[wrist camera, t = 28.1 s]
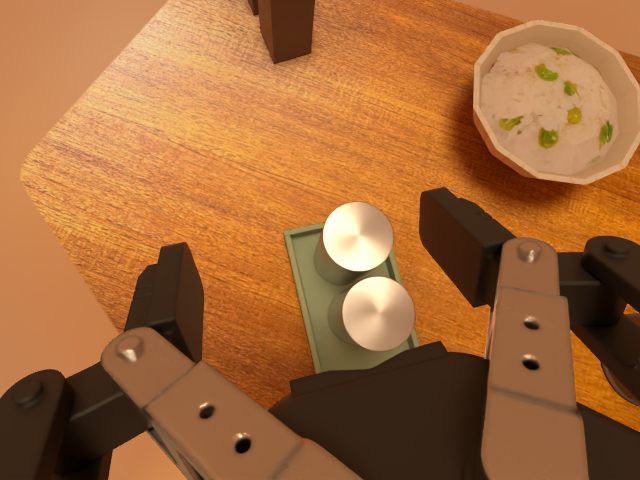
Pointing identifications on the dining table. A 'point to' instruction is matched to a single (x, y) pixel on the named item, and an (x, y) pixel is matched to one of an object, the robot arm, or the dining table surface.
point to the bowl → (556, 103)
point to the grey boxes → (285, 26)
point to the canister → (617, 385)
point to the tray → (317, 299)
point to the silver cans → (369, 293)
